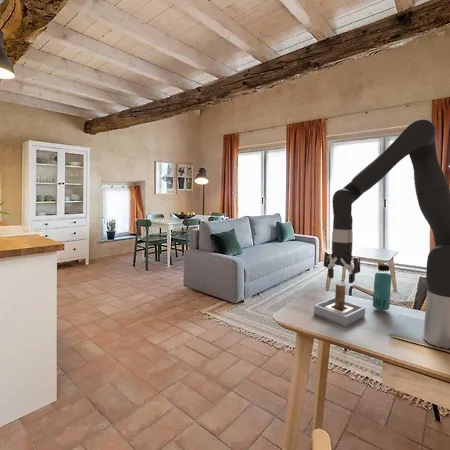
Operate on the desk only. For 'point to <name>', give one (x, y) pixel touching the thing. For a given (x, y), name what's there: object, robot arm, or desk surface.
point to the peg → (340, 297)
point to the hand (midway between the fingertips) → (340, 280)
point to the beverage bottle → (382, 288)
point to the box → (339, 312)
